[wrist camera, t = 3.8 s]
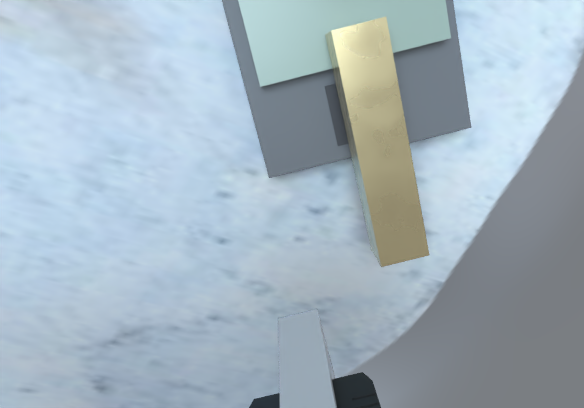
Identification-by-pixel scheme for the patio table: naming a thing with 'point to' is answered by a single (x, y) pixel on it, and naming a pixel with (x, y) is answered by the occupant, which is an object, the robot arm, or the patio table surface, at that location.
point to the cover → (324, 18)
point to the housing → (326, 106)
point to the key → (378, 139)
